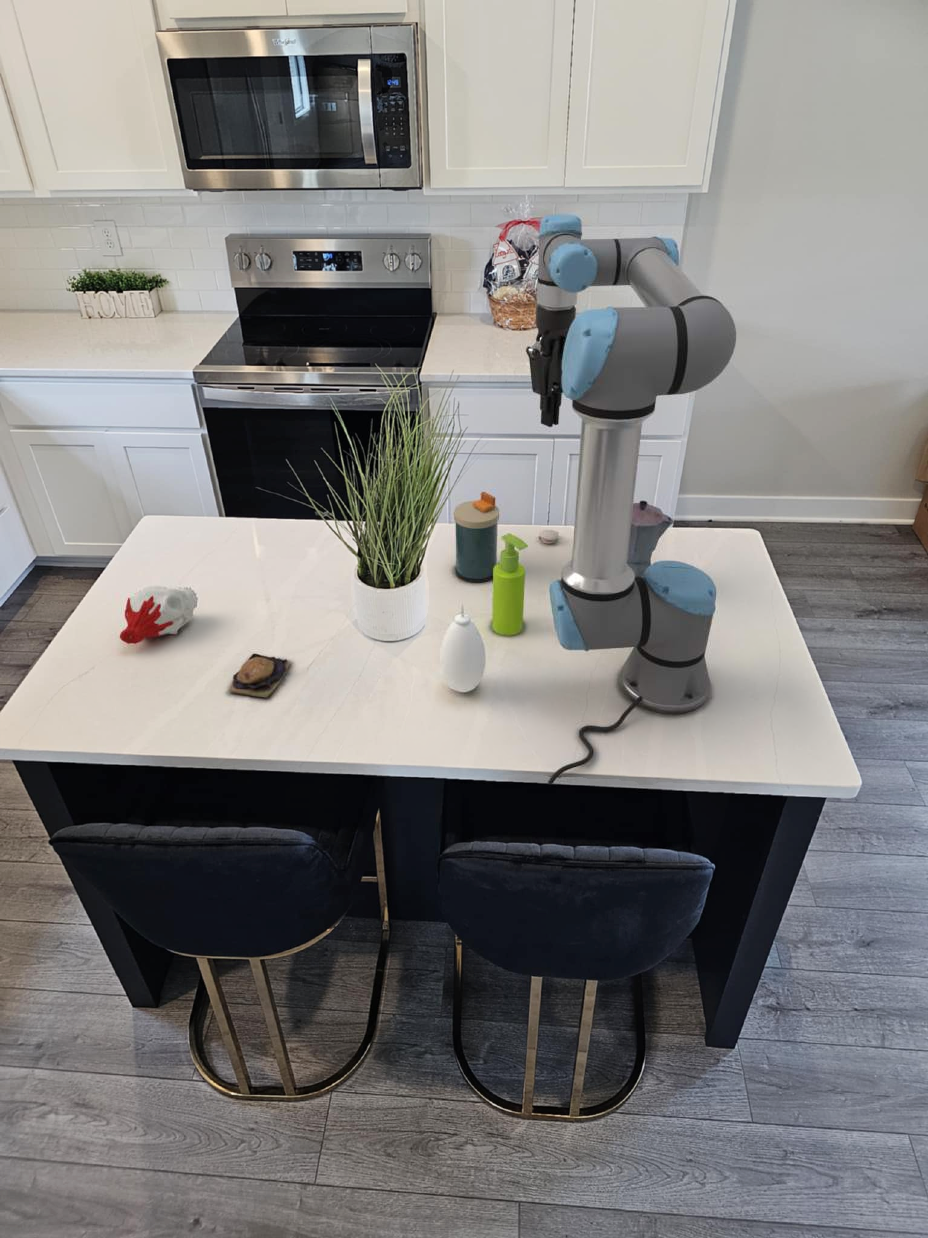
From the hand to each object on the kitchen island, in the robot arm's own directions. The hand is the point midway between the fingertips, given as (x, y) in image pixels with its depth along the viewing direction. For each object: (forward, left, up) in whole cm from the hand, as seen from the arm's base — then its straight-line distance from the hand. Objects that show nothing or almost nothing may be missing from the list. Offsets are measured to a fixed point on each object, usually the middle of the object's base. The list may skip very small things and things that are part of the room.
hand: (549, 423), depth 174 cm
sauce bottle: (-53, -1, -29) cm, 60 cm away
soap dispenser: (-33, -3, -29) cm, 44 cm away
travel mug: (-16, +10, -28) cm, 34 cm away
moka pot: (-11, -21, -29) cm, 37 cm away
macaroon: (+2, -1, -29) cm, 29 cm away
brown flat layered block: (-63, +34, -29) cm, 77 cm away
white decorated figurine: (-58, +60, -29) cm, 88 cm away
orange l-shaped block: (-14, +9, -14) cm, 22 cm away
